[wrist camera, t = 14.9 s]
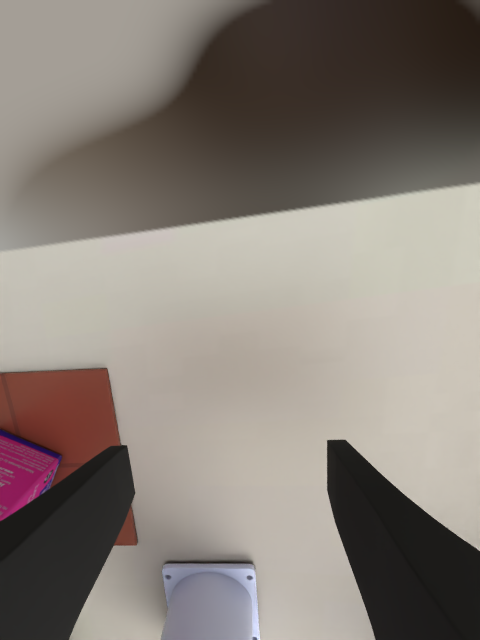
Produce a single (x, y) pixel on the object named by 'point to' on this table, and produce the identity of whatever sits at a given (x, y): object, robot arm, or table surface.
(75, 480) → the robot arm
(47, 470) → the supplement box
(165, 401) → the table surface
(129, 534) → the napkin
